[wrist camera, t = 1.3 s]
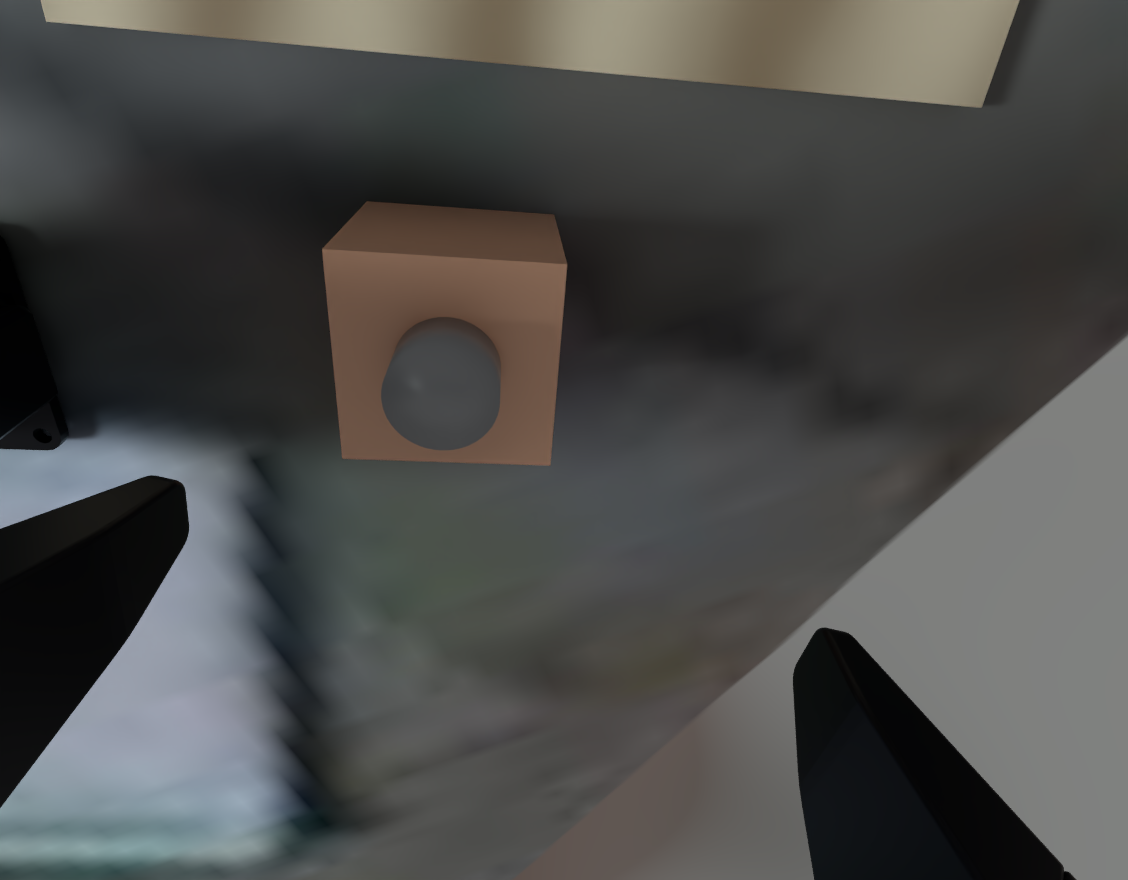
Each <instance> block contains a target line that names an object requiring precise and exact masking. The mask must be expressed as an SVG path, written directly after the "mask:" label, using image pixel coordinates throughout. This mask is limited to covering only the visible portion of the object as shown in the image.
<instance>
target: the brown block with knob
mask: <svg viewBox="0 0 1128 880" xmlns="http://www.w3.org/2000/svg"><path fill="white" fill-rule="evenodd" d="M322 254H323V265H324V275H325V285H326V296H327V306H328V316H329V326H330V337H331V347H332V357H333V368H334V378H335V388H336V399H337V409H338V419H339V429H340V440H341V450H342V459H363V460H394V461H425V462H455V463H486V464H517V465H548V466H550V463H551V452H552V440H553V428H554V416H555V404H556V392H557V380H558V369H559V357H560V345H561V333H562V321H563V309H564V298H565V286H566V274H567V261H566V258H565V254H564V250H563V246H562V242H561V238H560V235H559V231H558V227H557V223H556V219H555V216H554V214H541V213H526V212H512V211H498V210H484V209H470V208H455V207H441V206H427V205H413V204H398V203H384V202H370V201H367V202H366V203H365V204H364V205H363V206H362V207H361V208H360V209H359V210H358V211H357V212H356V213H355V214H354V216H353V217H352V218H351V219H350V220H349V221H348V222H347V223H346V224H345V225H344V226H343V227H342V228H341V229H340V230H339V231H338V233H337V234H336V235H335V236H334V237H333V238H332V239H331V240H330V241H329V242H328V243H327V244H326V245H325V246H324V247H323V248H322Z"/></svg>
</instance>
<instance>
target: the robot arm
mask: <svg viewBox="0 0 1128 880" xmlns="http://www.w3.org/2000/svg"><path fill="white" fill-rule="evenodd" d="M42 429H45V430H46V431H48V432H49V433H50V434H51V436H48V435H46V434H45V433H44V432H43V431H42ZM67 437H68V428H67V425H66V422H65V419H64V416H63V413H62V410H61V407H60V404H59V401H58V398H57V388H56V385H55V382H54V379H53V376H52V373H51V370H50V367H49V364H48V361H47V358H46V355H45V352H44V348H43V345H42V342H41V339H40V336H39V333H38V330H37V327H36V324H35V321H34V318H33V315H32V314H31V313H30V312H29V309H28V306H27V303H26V300H25V297H24V294H23V291H22V288H21V285H20V282H19V279H18V276H17V273H16V270H15V267H14V264H13V261H12V258H11V255H10V252H9V249H8V246H7V244H6V242H5V241H4V239H3V238H2V237H1V236H0V449H25V450H53V449H55V448H57V447H59V446H60V445H61V444H62V443H63V442H64V441H65V440H66V439H67ZM188 533H189V520H188V511H187V501H186V492H185V488H184V486H183V484H182V483H181V482H179V481H177V480H173V479H168V478H164V477H159V476H152V475H151V476H146V477H143V478H140V479H137V480H135V481H132V482H129V483H126V484H124V485H121V486H118V487H115V488H113V489H110V490H107V491H104V492H101V493H99V494H96V495H93V496H90V497H88V498H85V499H82V500H79V501H76V502H74V503H71V504H68V505H65V506H63V507H60V508H57V509H54V510H51V511H49V512H46V513H43V514H40V515H38V516H35V517H32V518H29V519H26V520H24V521H21V522H18V523H15V524H13V525H10V526H7V527H4V528H2V529H0V808H1V806H2V805H3V804H4V802H5V801H6V800H7V798H8V797H9V796H10V794H11V793H12V792H13V790H14V789H15V788H16V786H17V785H18V784H19V783H20V781H21V780H22V779H23V777H24V776H25V775H26V773H27V772H28V771H29V769H30V768H31V767H32V765H33V764H34V763H35V761H36V760H37V759H38V757H39V756H40V755H41V753H42V752H43V751H44V749H45V748H46V747H47V745H48V744H49V743H50V741H51V740H52V739H53V738H54V736H55V735H56V734H57V732H58V731H59V730H60V728H61V727H62V726H63V724H64V723H65V722H66V720H67V719H68V718H69V716H70V715H71V714H72V712H73V711H74V710H75V708H76V707H77V706H78V704H79V703H80V702H81V700H82V699H83V698H84V696H85V695H86V694H87V693H88V691H89V690H90V689H91V687H92V686H93V685H94V683H95V682H96V681H97V679H98V678H99V677H100V675H101V674H102V673H103V671H104V670H105V669H106V667H107V666H108V665H109V663H110V662H111V661H112V659H113V658H114V657H115V655H116V654H117V653H118V651H119V650H120V649H121V647H122V646H123V644H124V643H125V642H126V640H127V639H128V637H129V636H130V634H131V633H132V631H133V630H134V628H135V626H136V625H137V623H138V622H139V620H140V618H141V617H142V615H143V613H144V612H145V610H146V608H147V607H148V605H149V603H150V602H151V600H152V598H153V597H154V595H155V593H156V592H157V590H158V588H159V587H160V585H161V583H162V582H163V580H164V578H165V576H166V575H167V573H168V571H169V570H170V568H171V566H172V565H173V563H174V561H175V560H176V558H177V556H178V555H179V553H180V551H181V550H182V548H183V546H184V545H185V542H186V540H187V537H188ZM793 692H794V710H795V727H796V745H797V763H798V776H799V787H800V794H801V801H802V808H803V814H804V820H805V826H806V832H807V838H808V844H809V850H810V856H811V862H812V868H813V874H814V880H1076V879H1075V878H1074V877H1073V876H1072V875H1071V873H1069V872H1066V871H1064V867H1063V865H1062V864H1061V863H1060V862H1059V861H1058V860H1057V858H1056V857H1055V856H1054V855H1053V854H1052V853H1051V852H1050V851H1049V850H1048V849H1047V848H1046V846H1045V845H1044V844H1043V843H1042V842H1041V841H1040V840H1039V839H1038V838H1037V837H1036V836H1035V835H1034V833H1033V832H1032V831H1031V830H1030V829H1029V828H1028V827H1027V826H1026V825H1025V824H1024V822H1023V821H1022V820H1021V819H1020V818H1019V817H1018V816H1017V815H1016V814H1015V813H1014V812H1013V810H1011V808H1010V807H1009V806H1008V805H1007V804H1006V803H1005V802H1004V801H1003V800H1002V798H1001V797H1000V796H999V795H998V794H997V793H996V792H995V791H994V790H993V789H992V788H991V787H990V786H989V784H988V783H987V782H986V781H985V780H984V779H983V778H982V777H981V776H980V774H979V773H977V771H976V770H975V769H974V768H973V767H972V766H971V765H970V764H969V763H968V761H967V760H966V759H965V758H964V757H963V756H962V755H961V754H960V753H959V752H958V751H957V750H956V748H955V747H954V746H953V745H952V744H951V743H950V742H949V741H948V740H947V739H946V737H945V736H944V735H943V734H942V733H941V732H940V731H939V730H938V729H937V728H936V727H935V725H934V724H933V723H932V722H931V721H930V720H929V719H928V718H927V717H926V716H925V715H924V713H923V712H922V711H921V710H920V709H919V708H918V707H917V706H916V705H915V704H914V703H913V702H912V700H911V699H910V698H908V696H907V695H906V694H905V693H904V692H903V691H902V689H901V688H900V687H899V686H898V685H897V684H896V683H895V682H894V681H893V680H892V679H891V677H889V675H888V674H887V673H886V672H885V671H884V670H883V669H882V668H881V667H880V666H879V664H878V663H877V662H876V661H875V660H874V659H873V658H872V657H871V656H870V655H869V654H868V652H867V651H866V650H865V649H864V648H863V647H862V646H861V645H860V644H859V643H858V642H857V640H856V639H855V638H854V637H853V636H851V635H850V634H849V633H846V632H843V631H838V630H834V629H829V628H820V629H818V630H817V631H816V632H815V633H814V635H813V636H812V638H811V640H810V642H809V643H808V645H807V647H806V649H805V650H804V652H803V653H802V655H801V657H800V658H799V660H798V662H797V664H796V667H795V669H794V674H793Z"/></svg>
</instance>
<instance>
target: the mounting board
mask: <svg viewBox="0 0 1128 880" xmlns="http://www.w3.org/2000/svg"><path fill="white" fill-rule="evenodd" d="M1019 1H1020V0H41V3H42V7H43V11H44V15H45V19H46V22H57V23H68V24H78V25H89V26H100V27H111V28H122V29H133V30H143V31H154V32H165V33H176V34H187V35H198V36H208V37H219V38H230V39H241V40H252V41H263V42H273V43H284V44H295V45H306V46H317V47H328V48H338V49H349V50H360V51H371V52H382V53H393V54H403V55H414V56H425V57H436V58H447V59H457V60H468V61H479V62H490V63H501V64H512V65H522V66H533V67H544V68H555V69H566V70H577V71H587V72H598V73H609V74H620V75H631V76H642V77H652V78H663V79H674V80H685V81H696V82H707V83H717V84H728V85H739V86H750V87H761V88H772V89H782V90H793V91H804V92H815V93H826V94H837V95H847V96H858V97H869V98H880V99H891V100H901V101H912V102H923V103H934V104H945V105H956V106H966V107H977V108H982V105H983V102H984V100H985V97H986V94H987V91H988V88H989V85H990V83H991V80H992V77H993V74H994V71H995V68H996V66H997V63H998V60H999V57H1000V54H1001V51H1002V49H1003V46H1004V43H1005V40H1006V37H1007V35H1008V32H1009V29H1010V26H1011V23H1012V20H1013V18H1014V15H1015V12H1016V9H1017V6H1018V3H1019Z"/></svg>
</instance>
